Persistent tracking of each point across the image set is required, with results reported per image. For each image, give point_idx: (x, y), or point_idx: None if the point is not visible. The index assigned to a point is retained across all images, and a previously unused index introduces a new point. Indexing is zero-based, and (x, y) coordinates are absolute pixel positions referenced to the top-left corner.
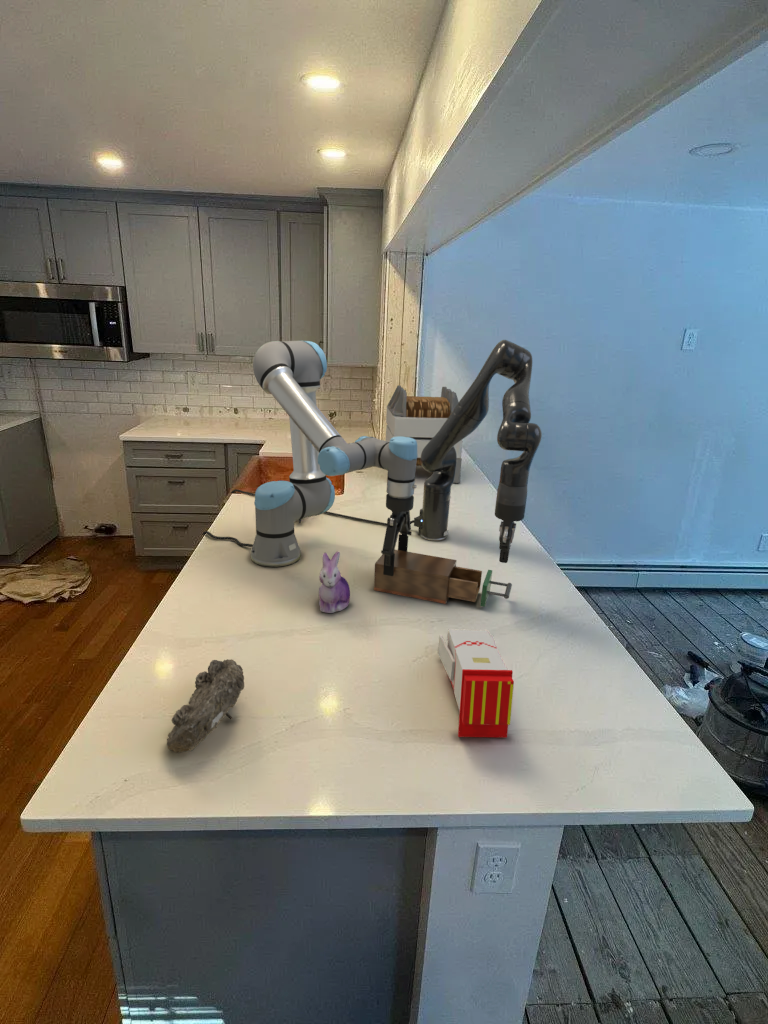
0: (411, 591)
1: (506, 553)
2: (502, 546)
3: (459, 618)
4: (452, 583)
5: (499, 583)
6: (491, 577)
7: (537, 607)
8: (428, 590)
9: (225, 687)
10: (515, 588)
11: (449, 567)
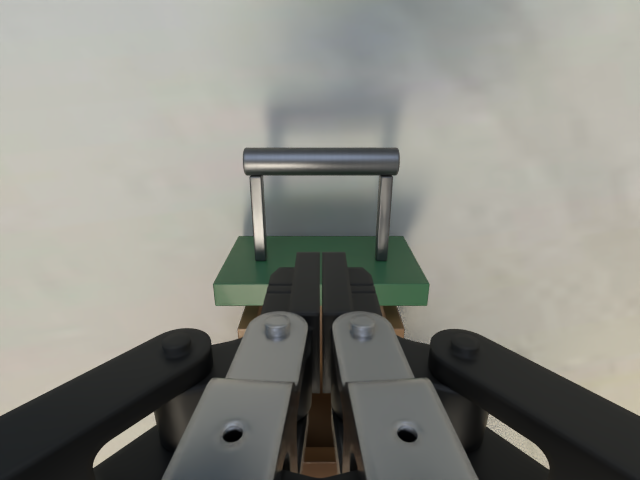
0: None
1: (380, 315)
2: (483, 438)
3: (491, 303)
4: None
5: (263, 215)
6: (228, 264)
7: None
8: None
9: None
10: (127, 122)
11: (321, 473)
